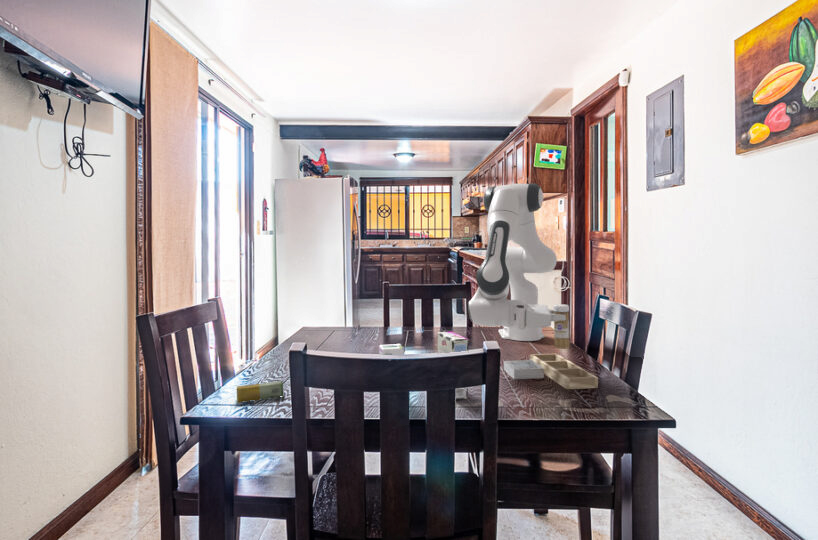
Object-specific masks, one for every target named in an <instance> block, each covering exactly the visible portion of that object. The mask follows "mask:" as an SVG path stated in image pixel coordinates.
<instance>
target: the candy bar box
mask: <svg viewBox="0 0 818 540" xmlns="http://www.w3.org/2000/svg"><path fill="white" fill-rule="evenodd" d="M469 341H470V340H469V338H467V337H466V336H465V337H464V336H463V335H460V334H458V333H456V332H454V331H441V332H440V331H438V332H437V349H436V350H437V354H439V353H450V352H461V351H468V352H469ZM437 354H436V355H437ZM468 394H469V387H468V388H464V389H456V400H455V401H460V400H468V398H469V395H468Z"/></svg>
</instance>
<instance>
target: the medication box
mask: <svg viewBox="0 0 818 540" xmlns="http://www.w3.org/2000/svg"><path fill="white" fill-rule="evenodd" d="M284 394H285V393H284V381H282V380H280V381H278V380H277V381H270V382H263V383H254V384H247V385H245V384H244V385H237V386H236V402H238V403H244V402H243V401H247V402H251V401H250V400H255V401H261V400H260V399H264V400H269V399H268V398H272V399H276V398H275V397H280V396H283V395H284ZM284 396H285V395H284Z"/></svg>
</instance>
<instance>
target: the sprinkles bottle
mask: <svg viewBox="0 0 818 540" xmlns="http://www.w3.org/2000/svg"><path fill="white" fill-rule="evenodd" d="M552 310H554V314H565V315H566V320H565V321H553V324H554V325H553V326H554V327H553V334H554V336H553V337H554V346H553V347H554V348H555V349H558V350H559V349H560V350H565V349H566V350H567V349H569V348H570V321H569V312H570V307H569V304H561V303H559V304H554V305H553V309H552Z"/></svg>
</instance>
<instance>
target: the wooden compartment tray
mask: <svg viewBox="0 0 818 540" xmlns="http://www.w3.org/2000/svg"><path fill="white" fill-rule="evenodd" d="M529 360H533V361H534V362H536V363H537V364H538V365H540V366H541V367H543V368H544V375H545V376H547V377H549V378H550V379H551V380H553V381H554V382H555V383H557V384H558V385H559V386H561V387H563V388H564V389H566V390H583V389H598V388H599V377H598V376H596V375H594V374H593V373H591V372H589V371H588V370H587V369H586V370H585V369H584V368H582V367H580V366H579V365H577V364H575V363H574V362H572V361H571V360H568V359H567V358H565V357H563V356H561V355H560V354H558V353H535V354H529Z"/></svg>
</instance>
